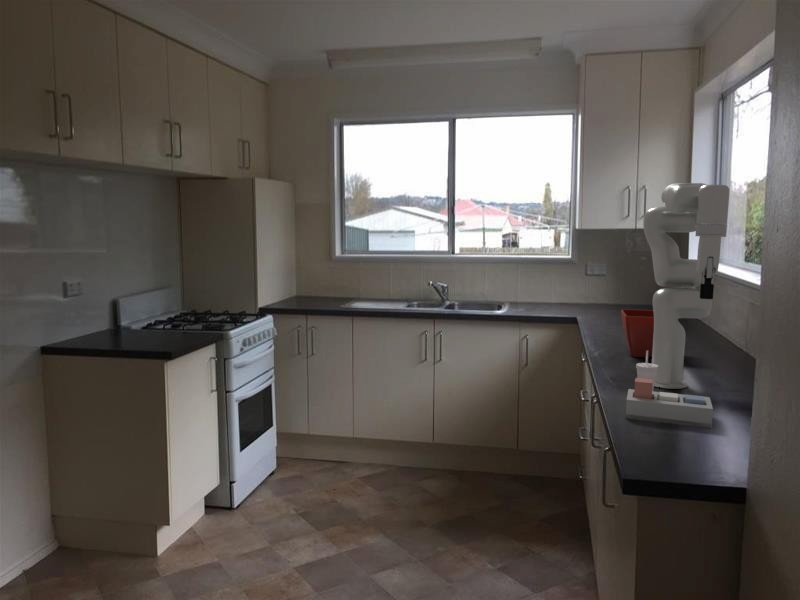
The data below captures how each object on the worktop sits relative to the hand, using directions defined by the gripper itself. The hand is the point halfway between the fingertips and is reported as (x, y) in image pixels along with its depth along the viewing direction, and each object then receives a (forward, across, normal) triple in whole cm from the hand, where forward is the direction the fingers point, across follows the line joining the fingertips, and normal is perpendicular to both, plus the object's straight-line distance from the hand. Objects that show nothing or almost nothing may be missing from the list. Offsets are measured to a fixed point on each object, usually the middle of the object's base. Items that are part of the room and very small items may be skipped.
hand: (706, 298), depth 176 cm
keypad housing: (+32, +8, -8) cm, 34 cm away
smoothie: (+32, -12, -14) cm, 37 cm away
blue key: (+30, +8, -2) cm, 31 cm away
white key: (+30, +8, -8) cm, 32 cm away
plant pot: (+32, -78, -15) cm, 86 cm away
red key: (+27, +8, -14) cm, 32 cm away
